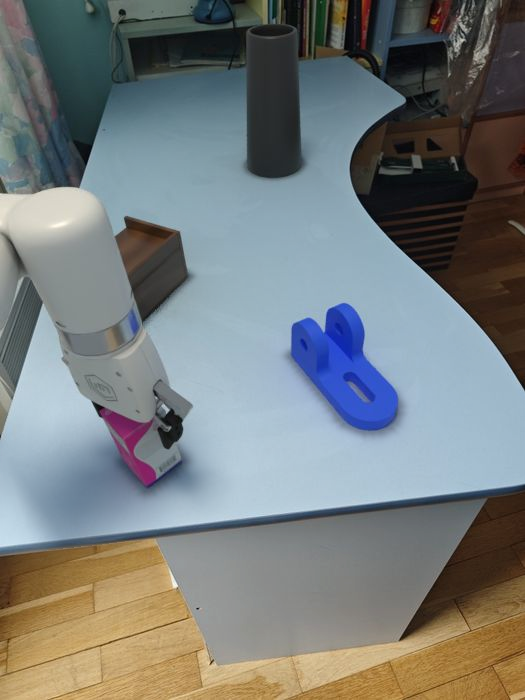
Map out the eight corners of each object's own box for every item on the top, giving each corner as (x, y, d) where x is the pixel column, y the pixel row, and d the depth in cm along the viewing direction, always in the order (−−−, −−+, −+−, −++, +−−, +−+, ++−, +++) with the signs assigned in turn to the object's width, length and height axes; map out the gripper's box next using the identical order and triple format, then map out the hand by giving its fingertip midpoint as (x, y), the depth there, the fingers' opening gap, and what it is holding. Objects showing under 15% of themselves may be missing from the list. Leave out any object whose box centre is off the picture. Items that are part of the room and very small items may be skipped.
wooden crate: (82, 309, 86) (63, 263, 79) (138, 260, 96) (126, 215, 88) (135, 330, 82) (120, 283, 75) (188, 276, 92) (180, 231, 84)
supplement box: (158, 434, 67) (139, 382, 59) (183, 461, 64) (168, 410, 56) (122, 460, 65) (97, 409, 56) (146, 490, 62) (125, 440, 53)
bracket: (291, 355, 77) (291, 313, 70) (334, 336, 79) (338, 294, 73) (360, 439, 66) (368, 399, 59) (408, 414, 68) (420, 372, 62)
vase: (262, 148, 128) (258, 18, 107) (310, 158, 123) (315, 24, 102) (237, 171, 120) (226, 35, 99) (286, 182, 115) (286, 42, 94)
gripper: (4, 318, 47) (66, 420, 59) (147, 378, 41) (182, 478, 53) (60, 274, 51) (106, 378, 64) (196, 322, 45) (218, 427, 57)
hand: (141, 423), depth 58 cm, fingers open, 9 cm apart
